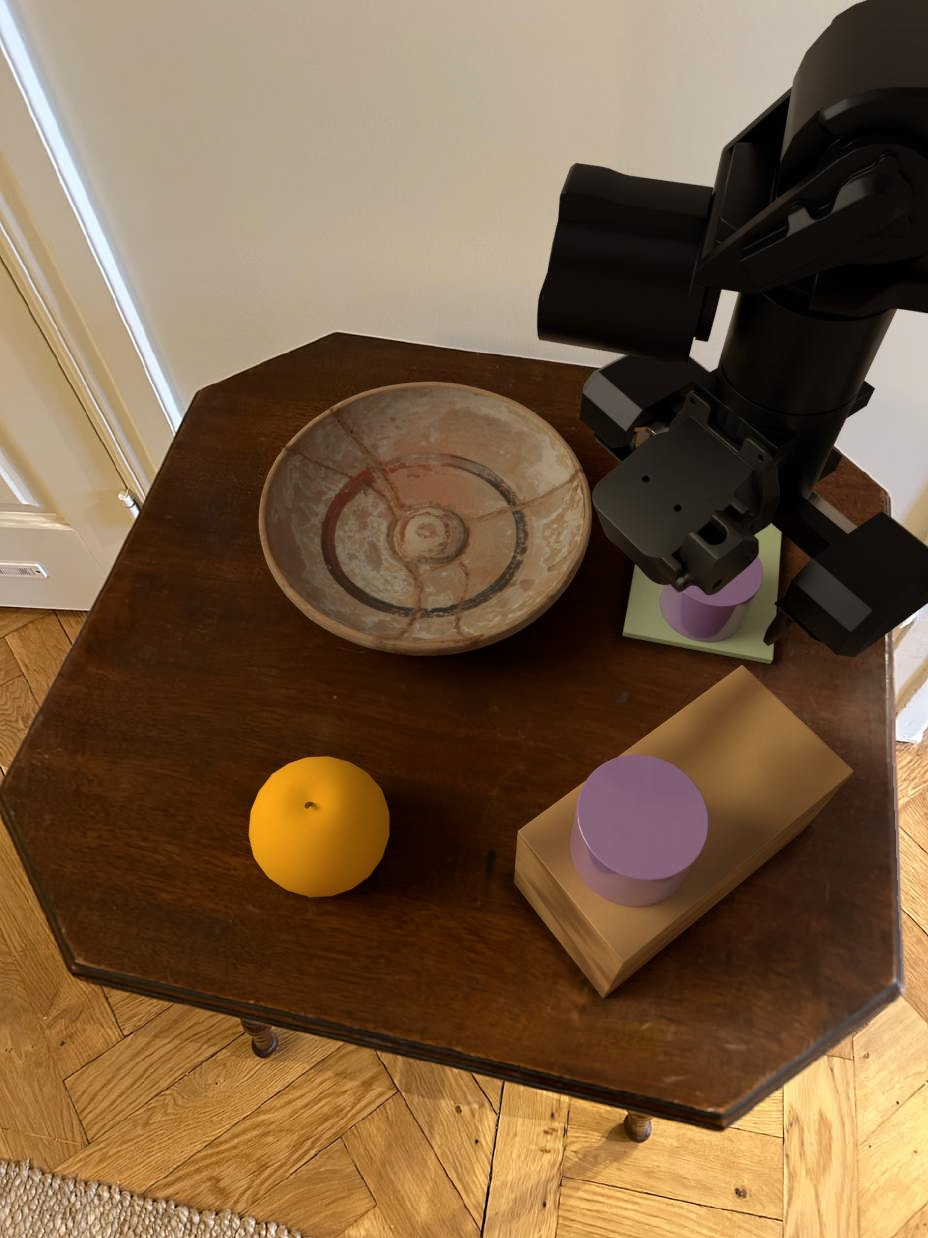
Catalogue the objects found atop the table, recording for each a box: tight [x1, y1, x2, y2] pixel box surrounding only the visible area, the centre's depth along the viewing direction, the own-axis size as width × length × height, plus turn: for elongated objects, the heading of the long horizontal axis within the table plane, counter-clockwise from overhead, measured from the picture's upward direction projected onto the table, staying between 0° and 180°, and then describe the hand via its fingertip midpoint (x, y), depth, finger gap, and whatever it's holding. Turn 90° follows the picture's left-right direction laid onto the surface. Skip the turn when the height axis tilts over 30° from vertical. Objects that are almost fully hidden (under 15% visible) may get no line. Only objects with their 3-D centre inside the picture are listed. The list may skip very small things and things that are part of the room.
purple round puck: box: [659, 556, 763, 642], centre depth 61 cm, size 6×6×4 cm
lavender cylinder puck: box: [570, 755, 709, 907], centre depth 43 cm, size 6×6×4 cm
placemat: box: [622, 524, 783, 665], centre depth 65 cm, size 14×10×1 cm
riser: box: [513, 664, 855, 999], centre depth 50 cm, size 8×16×9 cm, turn 126°
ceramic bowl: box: [258, 381, 593, 657], centre depth 65 cm, size 23×24×5 cm
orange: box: [248, 755, 390, 898], centre depth 52 cm, size 8×8×8 cm
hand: (711, 582), depth 50 cm, fingers open, 9 cm apart
